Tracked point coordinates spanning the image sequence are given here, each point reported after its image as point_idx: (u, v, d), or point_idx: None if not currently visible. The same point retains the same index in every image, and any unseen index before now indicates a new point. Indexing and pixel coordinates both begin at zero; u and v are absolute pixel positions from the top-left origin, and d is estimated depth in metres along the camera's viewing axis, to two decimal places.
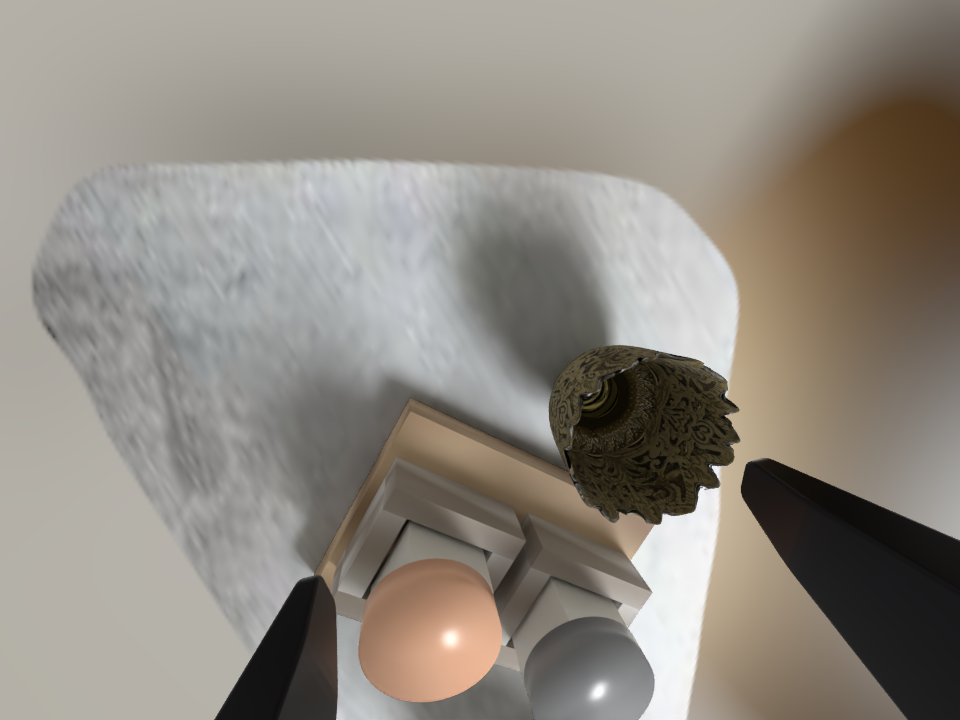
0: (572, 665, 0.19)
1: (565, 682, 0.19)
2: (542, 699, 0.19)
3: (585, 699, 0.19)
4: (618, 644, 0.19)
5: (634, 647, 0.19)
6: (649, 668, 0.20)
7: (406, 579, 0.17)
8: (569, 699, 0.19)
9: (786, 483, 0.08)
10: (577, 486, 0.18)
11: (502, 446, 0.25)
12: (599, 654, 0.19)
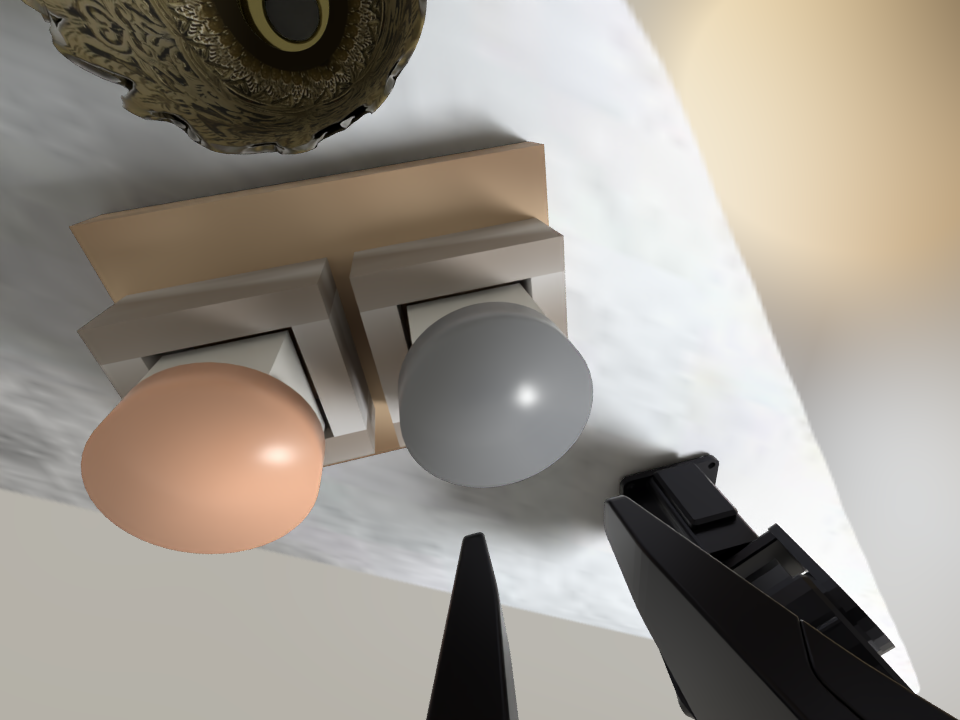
0: (425, 396, 0.12)
1: (438, 420, 0.12)
2: (428, 455, 0.13)
3: (489, 423, 0.13)
4: (467, 330, 0.11)
5: (503, 319, 0.12)
6: (548, 333, 0.12)
7: None
8: (465, 434, 0.13)
9: (631, 525, 0.08)
10: (190, 133, 0.09)
11: (256, 190, 0.16)
12: (450, 360, 0.12)
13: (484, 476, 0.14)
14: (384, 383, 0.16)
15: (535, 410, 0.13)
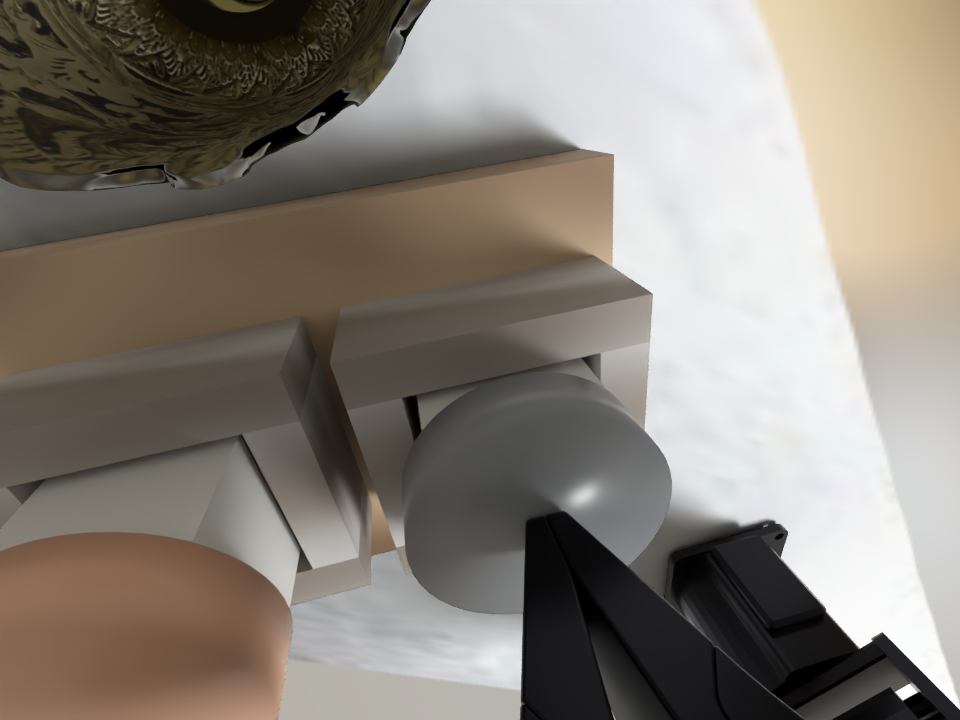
0: (441, 513, 0.08)
1: (459, 542, 0.09)
2: (444, 582, 0.09)
3: None
4: (504, 426, 0.08)
5: (555, 408, 0.08)
6: (619, 425, 0.08)
7: None
8: (495, 556, 0.09)
9: (565, 543, 0.08)
10: None
11: (199, 221, 0.11)
12: (478, 466, 0.08)
13: (519, 601, 0.10)
14: (384, 500, 0.11)
15: (592, 521, 0.09)
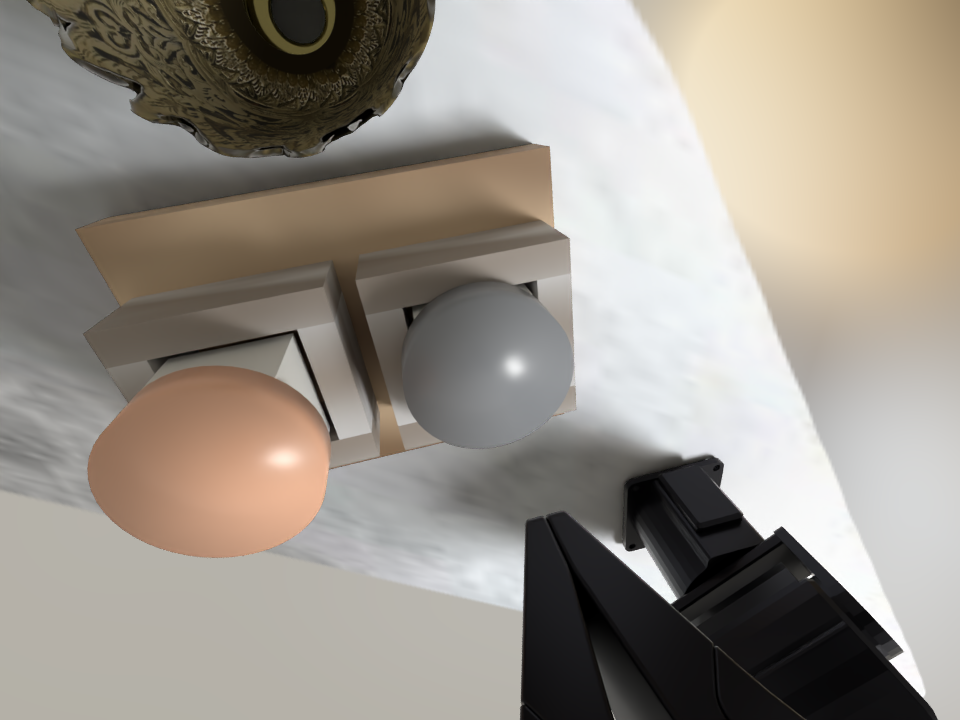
0: (425, 362, 0.14)
1: (437, 385, 0.14)
2: (428, 417, 0.15)
3: (482, 388, 0.14)
4: (461, 304, 0.13)
5: (493, 295, 0.13)
6: (533, 307, 0.13)
7: None
8: (460, 399, 0.14)
9: (565, 543, 0.08)
10: (198, 136, 0.09)
11: (262, 193, 0.16)
12: (447, 330, 0.13)
13: (478, 438, 0.15)
14: (389, 386, 0.16)
15: (522, 377, 0.15)
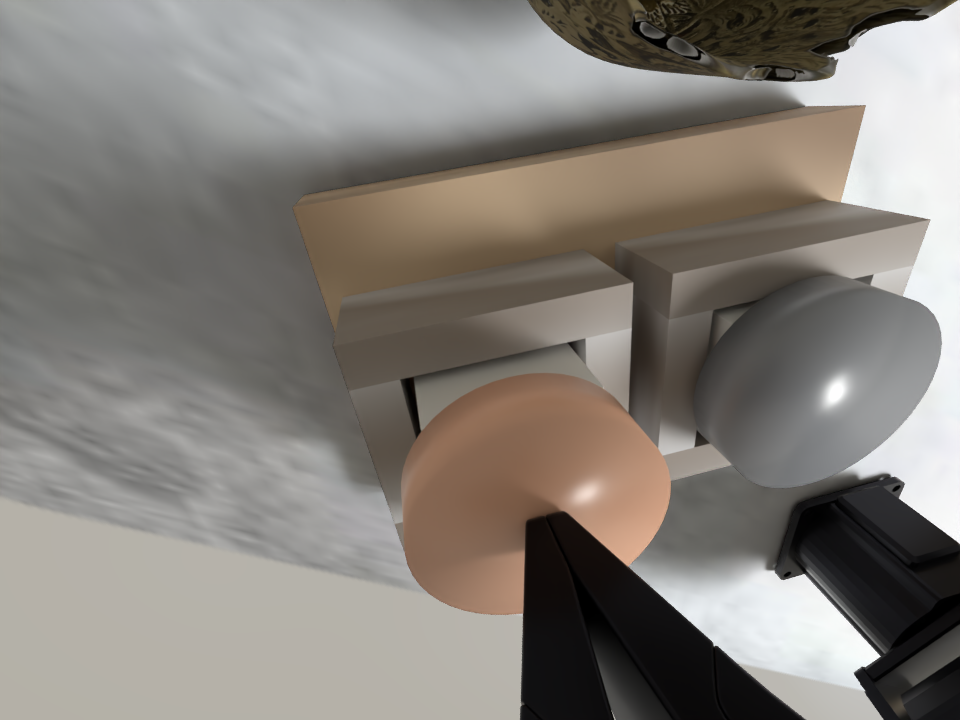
0: (773, 382, 0.10)
1: (774, 411, 0.11)
2: (746, 451, 0.11)
3: (820, 414, 0.11)
4: (845, 305, 0.10)
5: (877, 293, 0.10)
6: (921, 309, 0.10)
7: (421, 464, 0.08)
8: (791, 428, 0.11)
9: (565, 543, 0.08)
10: (675, 44, 0.06)
11: (503, 164, 0.13)
12: (815, 340, 0.10)
13: (788, 475, 0.12)
14: (665, 408, 0.13)
15: (869, 400, 0.11)
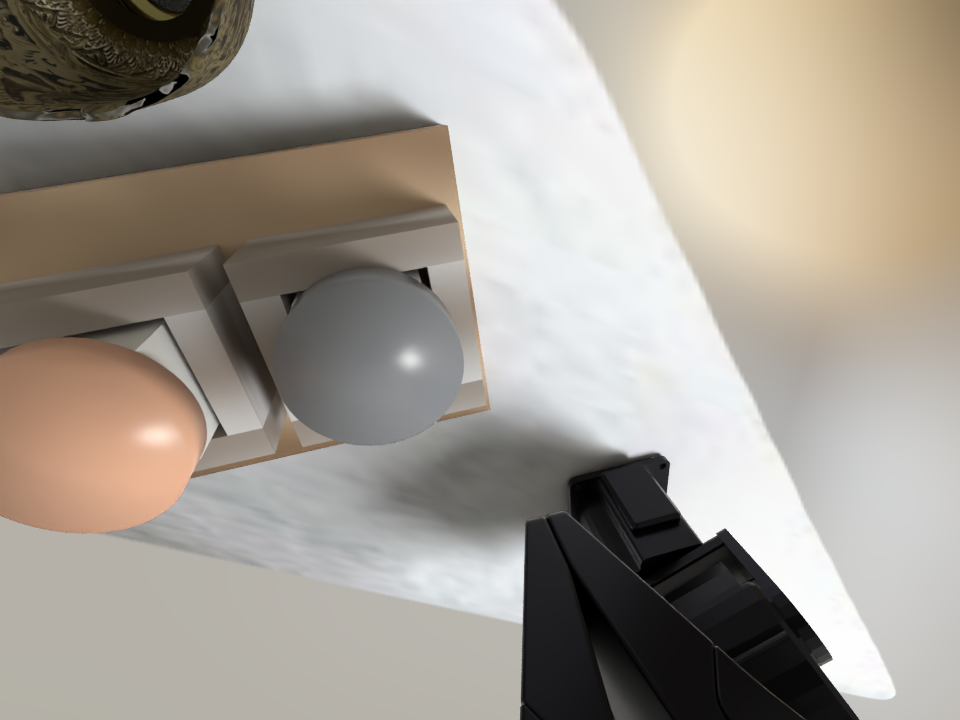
0: (295, 353, 0.13)
1: (312, 377, 0.13)
2: (307, 411, 0.14)
3: (363, 381, 0.14)
4: (328, 290, 0.12)
5: (365, 280, 0.12)
6: (409, 294, 0.13)
7: None
8: (341, 392, 0.14)
9: (565, 543, 0.08)
10: None
11: (140, 173, 0.15)
12: (315, 318, 0.12)
13: (367, 434, 0.15)
14: None
15: (408, 370, 0.14)
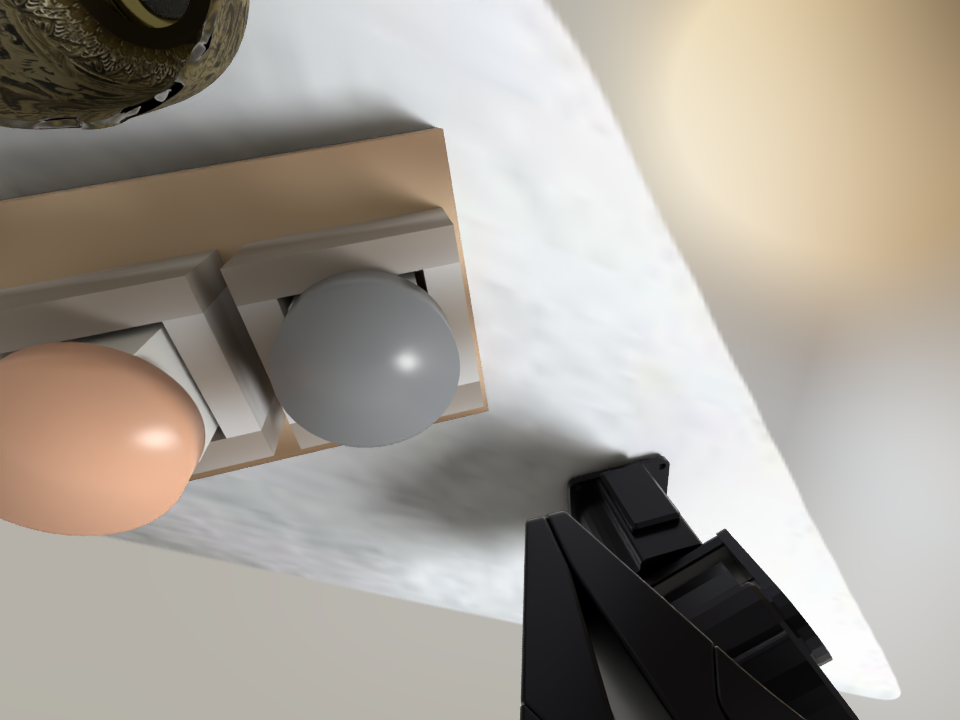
0: (292, 356, 0.13)
1: (309, 380, 0.13)
2: (304, 414, 0.14)
3: (360, 383, 0.14)
4: (324, 293, 0.12)
5: (360, 284, 0.12)
6: (404, 297, 0.13)
7: None
8: (338, 395, 0.14)
9: (565, 543, 0.08)
10: None
11: (139, 178, 0.15)
12: (311, 321, 0.12)
13: (364, 436, 0.15)
14: None
15: (404, 372, 0.14)
